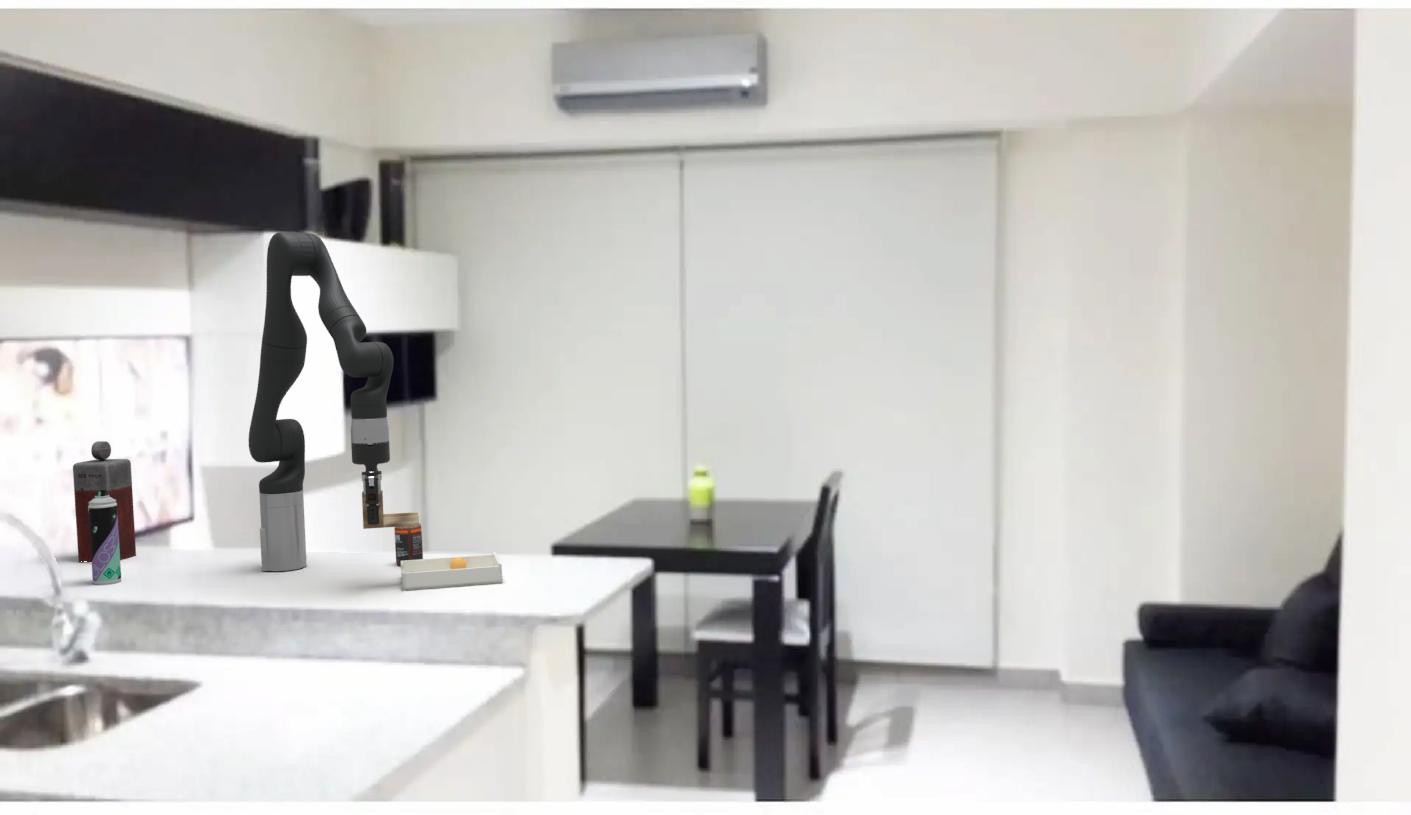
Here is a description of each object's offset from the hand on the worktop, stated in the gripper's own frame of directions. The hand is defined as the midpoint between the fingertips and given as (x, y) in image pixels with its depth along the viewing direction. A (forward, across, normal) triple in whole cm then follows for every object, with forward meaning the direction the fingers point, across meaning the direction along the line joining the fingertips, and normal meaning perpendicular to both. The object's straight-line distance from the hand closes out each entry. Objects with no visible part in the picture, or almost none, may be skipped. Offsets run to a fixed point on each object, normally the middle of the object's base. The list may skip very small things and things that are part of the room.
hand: (373, 521), depth 246 cm
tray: (+13, 0, +15) cm, 20 cm away
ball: (+11, -4, +17) cm, 21 cm away
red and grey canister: (+14, -55, -63) cm, 85 cm away
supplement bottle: (+14, -21, +7) cm, 26 cm away
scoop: (+1, 0, +3) cm, 4 cm away
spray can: (+14, -25, -56) cm, 63 cm away
